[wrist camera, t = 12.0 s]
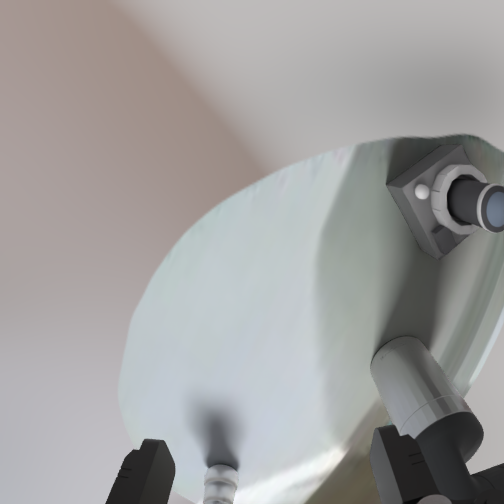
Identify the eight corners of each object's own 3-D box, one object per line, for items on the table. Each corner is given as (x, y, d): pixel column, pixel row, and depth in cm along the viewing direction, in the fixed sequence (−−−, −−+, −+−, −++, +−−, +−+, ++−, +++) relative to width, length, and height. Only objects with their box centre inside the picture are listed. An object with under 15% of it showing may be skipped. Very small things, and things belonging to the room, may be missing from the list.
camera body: (471, 208, 37) (501, 218, 30) (420, 249, 38) (446, 265, 32) (441, 145, 35) (470, 143, 28) (385, 185, 37) (409, 190, 30)
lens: (472, 177, 31) (515, 185, 23) (472, 217, 32) (513, 232, 24) (441, 177, 31) (482, 184, 23) (441, 219, 32) (480, 235, 25)
